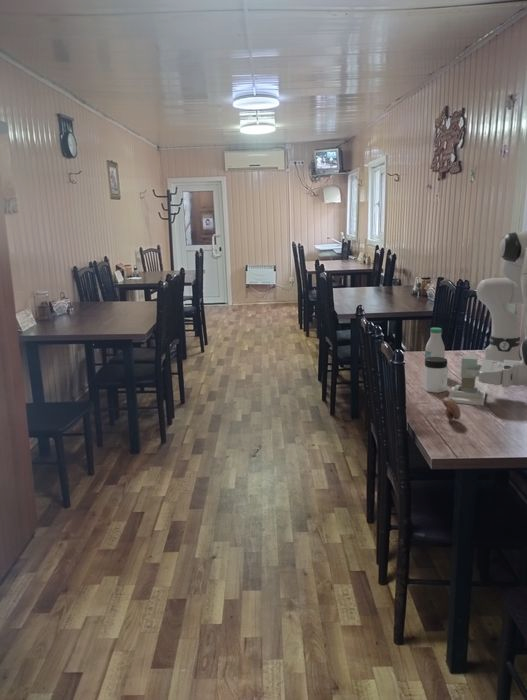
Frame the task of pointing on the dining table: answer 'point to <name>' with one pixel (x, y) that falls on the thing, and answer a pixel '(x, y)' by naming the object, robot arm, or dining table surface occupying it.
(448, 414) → the mushroom
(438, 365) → the jar
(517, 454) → the dining table surface
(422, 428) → the dining table surface
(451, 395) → the socket
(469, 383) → the plug
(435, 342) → the milk bottle
